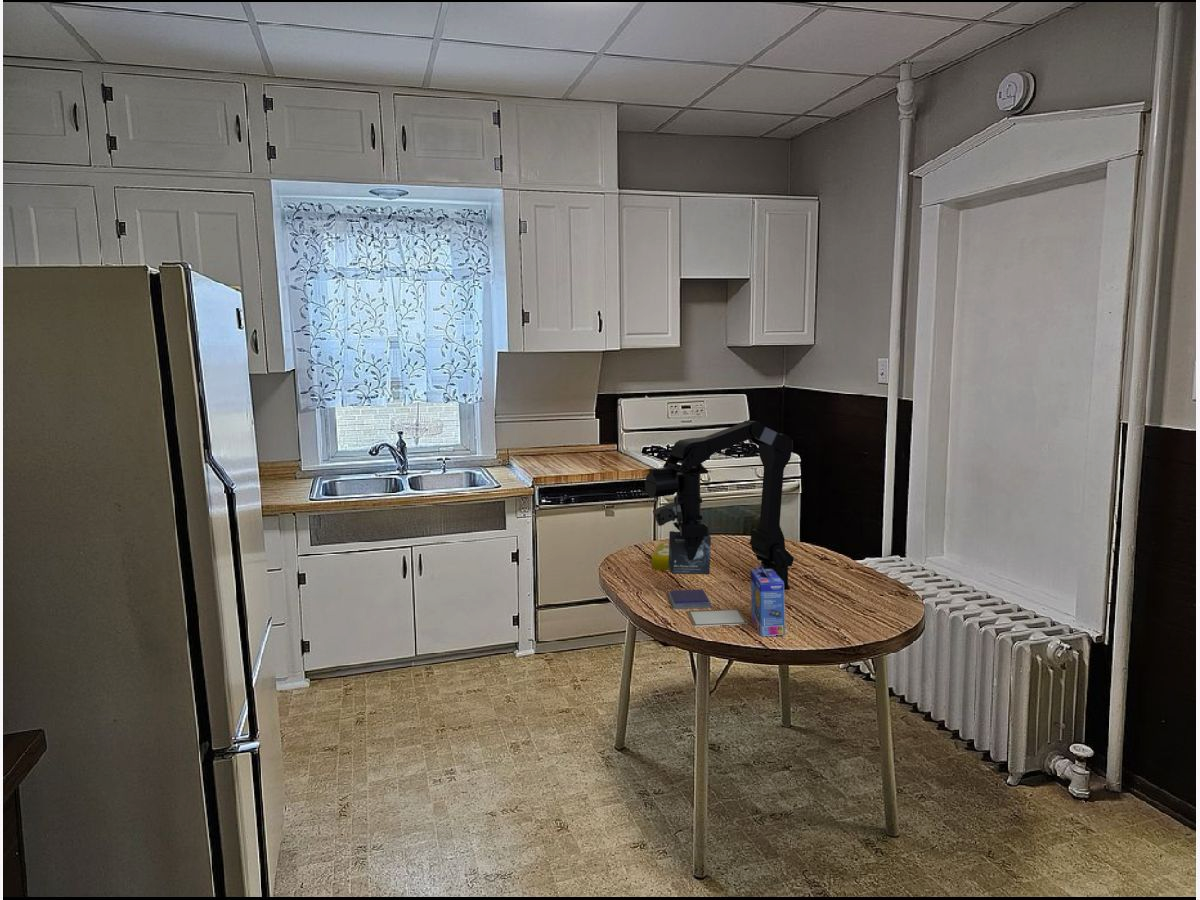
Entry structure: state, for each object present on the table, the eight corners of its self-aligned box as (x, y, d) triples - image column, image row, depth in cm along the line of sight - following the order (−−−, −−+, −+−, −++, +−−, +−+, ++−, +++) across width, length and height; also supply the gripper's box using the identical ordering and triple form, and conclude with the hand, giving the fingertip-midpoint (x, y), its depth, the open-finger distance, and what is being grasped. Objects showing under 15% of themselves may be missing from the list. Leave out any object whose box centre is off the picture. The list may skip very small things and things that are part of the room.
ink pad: (704, 595, 189) (704, 588, 188) (711, 607, 180) (710, 600, 179) (668, 596, 188) (668, 590, 188) (673, 609, 179) (673, 602, 179)
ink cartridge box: (749, 620, 171) (749, 558, 169) (773, 619, 171) (774, 558, 169) (760, 637, 161) (760, 572, 159) (785, 636, 161) (786, 571, 159)
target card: (738, 610, 177) (738, 608, 177) (747, 624, 169) (747, 622, 168) (687, 612, 177) (687, 610, 177) (694, 626, 168) (694, 625, 168)
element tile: (704, 574, 206) (704, 557, 206) (650, 571, 210) (650, 555, 209) (710, 558, 221) (709, 542, 220) (659, 556, 224) (659, 541, 224)
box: (671, 575, 180) (672, 536, 179) (667, 568, 185) (669, 530, 184) (709, 575, 180) (711, 536, 179) (705, 568, 186) (707, 531, 185)
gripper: (650, 486, 189) (651, 547, 191) (659, 502, 170) (660, 569, 173) (694, 485, 189) (695, 545, 192) (708, 500, 171) (709, 567, 173)
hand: (689, 556), depth 182 cm, fingers closed on box, 5 cm apart
